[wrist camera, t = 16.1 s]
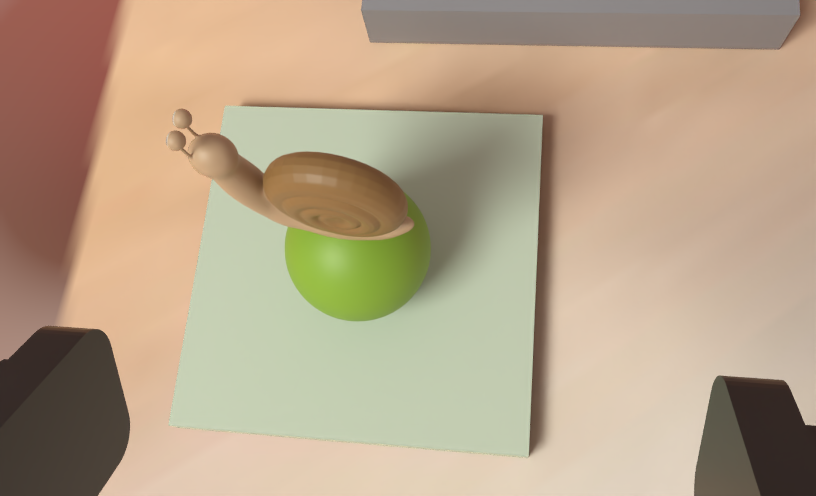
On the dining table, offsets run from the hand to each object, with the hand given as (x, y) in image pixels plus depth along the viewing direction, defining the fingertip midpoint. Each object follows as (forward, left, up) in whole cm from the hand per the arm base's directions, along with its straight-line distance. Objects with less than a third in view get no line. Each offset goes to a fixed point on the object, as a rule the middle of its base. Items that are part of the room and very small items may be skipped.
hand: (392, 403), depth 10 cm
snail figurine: (+5, -7, -20) cm, 22 cm away
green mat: (+5, -8, -21) cm, 22 cm away
